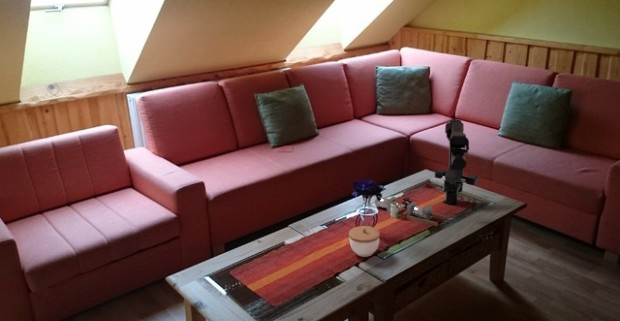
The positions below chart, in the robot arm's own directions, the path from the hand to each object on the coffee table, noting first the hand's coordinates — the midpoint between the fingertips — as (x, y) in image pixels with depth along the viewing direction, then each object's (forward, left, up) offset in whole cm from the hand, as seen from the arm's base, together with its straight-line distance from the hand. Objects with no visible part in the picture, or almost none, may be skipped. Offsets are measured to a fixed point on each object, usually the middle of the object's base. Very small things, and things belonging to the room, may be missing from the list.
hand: (455, 194), depth 239 cm
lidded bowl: (+50, -18, -12) cm, 55 cm away
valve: (+9, -23, -12) cm, 28 cm away
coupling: (+8, -14, -12) cm, 20 cm away
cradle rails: (+8, -10, -12) cm, 18 cm away
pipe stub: (+8, -32, -12) cm, 35 cm away
